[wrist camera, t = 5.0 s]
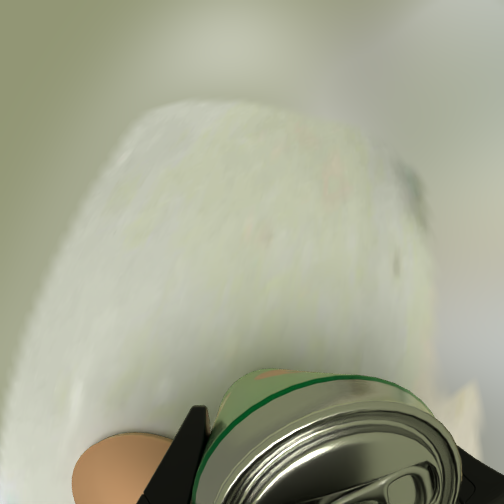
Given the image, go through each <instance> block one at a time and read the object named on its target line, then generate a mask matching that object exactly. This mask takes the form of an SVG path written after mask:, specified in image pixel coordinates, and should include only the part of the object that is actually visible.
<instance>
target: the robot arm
mask: <svg viewBox="0 0 504 504" xmlns="http://www.w3.org/2000/svg"><path fill="white" fill-rule="evenodd" d="M209 437H210V420H209V415H208V410H207V407H206V406H205V405H195V406H193V407H192V408H191V409H190V411H189V413H188V415H187V417H186V418H185V420H184V422H183V424H182V425H181V427H180V429H179V431H178V432H177V434H176V436H175V438H174V439H173V441H172V443H171V445H170V446H169V448H168V450H167V452H166V453H165V455H164V457H163V459H162V460H161V462H160V464H159V466H158V467H157V469H156V471H155V472H154V474H153V476H152V478H151V479H150V481H149V483H148V484H147V486H146V488H145V489H144V491H143V493H144V494H141V496H140V498H139V499H138V501H137V503H136V504H192V490H193V486H194V482H195V478H196V474H197V471H198V468H199V465H200V462H201V459H202V457H203V454H204V451H205V448H206V445H207V442H208V440H209ZM457 447H458V450H459V454H460V458H461V464H462V484H461V491H460V495H459V499H458V503H457V504H504V475H502V474H501V473H499V472H497V471H495V470H494V469H492V468H490V467H488V466H487V465H485V464H483V463H482V462H480V461H479V460H477V459H475V458H474V457H473V456H471V455H470V454H468V453H467V452H466V451H464V450H463V449H462V448H460V447H459V446H457Z"/></svg>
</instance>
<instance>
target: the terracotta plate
mask: <svg viewBox="0 0 504 504" xmlns="http://www.w3.org/2000/svg"><path fill="white" fill-rule="evenodd" d="M172 441H173V440H172V439H169V438H166V437H163V436H159V435H155V434H149V433H138V432H132V433H123V434H117V435H114V436H111V437H108V438H106V439H104V440H102V441H101V442H99V443H97V444H95V445H93V446H91V447H90V448H89V449H87V450H86V451H85V452H84V453H83V454H82V455H81V457H80V458H79V460H78V461H77V463H76V465H75V468H74V471H73V475H72V492H73V497H74V500H75V503H76V504H136V503H137V501H138V499H139V498H140V496H141V494H144V493H143V491H144V489H145V488H146V486H147V484H148V483H149V481H150V479H151V478H152V476H153V474H154V472H155V471H156V469H157V467H158V466H159V464H160V462H161V460H162V459H163V457H164V455H165V453H166V452H167V450H168V448H169V446H170V445H171V443H172Z"/></svg>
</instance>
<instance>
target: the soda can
mask: <svg viewBox="0 0 504 504" xmlns="http://www.w3.org/2000/svg"><path fill="white" fill-rule="evenodd" d="M461 484H462V464H461V458H460V454H459V450H458V447H457V445H456V443H455V441H454V439H453V437H452V435H451V434H450V432H449V431H448V430H447V429H446V428H445V426H444V425H443V424H442V423H441V422H440V421H439V420H437V419H436V418H435V417H434V415H433V414H432V412H431V411H430V410H429V409H428V407H427V406H426V405H425V404H424V403H423V402H422V401H421V400H420V399H419V398H418V397H416V396H415V395H414V394H413V393H411V392H410V391H409V390H407V389H405V388H403V387H401V386H399V385H397V384H395V383H392V382H389V381H386V380H383V379H379V378H376V377H369V376H361V375H350V374H333V373H319V372H307V371H297V370H287V369H276V368H268V369H261V370H257V371H253V372H251V373H249V374H246V375H245V376H243V377H241V378H240V379H239V380H237V381H236V382H235V383H234V384H233V385H232V386H231V387H230V388H229V389H228V391H227V392H226V394H225V396H224V398H223V400H222V402H221V405H220V408H219V411H218V414H217V417H216V419H215V422H214V425H213V428H212V431H211V434H210V437H209V440H208V442H207V445H206V448H205V451H204V454H203V457H202V459H201V462H200V465H199V468H198V471H197V474H196V478H195V482H194V486H193V490H192V504H457V503H458V499H459V495H460V491H461Z"/></svg>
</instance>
